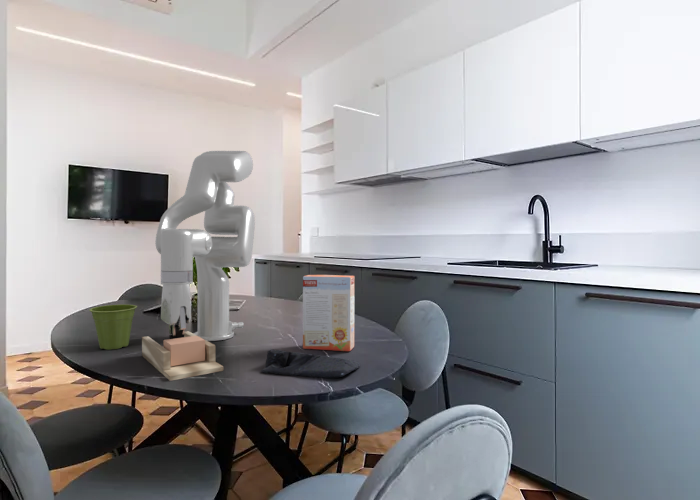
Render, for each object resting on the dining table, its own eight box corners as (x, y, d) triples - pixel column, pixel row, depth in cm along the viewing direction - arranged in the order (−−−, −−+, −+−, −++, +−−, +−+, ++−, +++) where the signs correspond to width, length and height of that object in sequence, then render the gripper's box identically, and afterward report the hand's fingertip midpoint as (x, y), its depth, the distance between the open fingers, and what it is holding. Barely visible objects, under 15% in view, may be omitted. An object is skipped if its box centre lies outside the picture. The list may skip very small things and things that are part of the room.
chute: (188, 348, 119) (188, 331, 119) (223, 370, 100) (223, 349, 100) (142, 355, 112) (142, 337, 112) (170, 380, 92) (170, 358, 92)
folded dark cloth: (343, 386, 91) (343, 364, 91) (254, 374, 99) (254, 354, 99) (365, 366, 105) (365, 347, 105) (286, 357, 113) (286, 339, 113)
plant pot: (83, 346, 120) (83, 307, 120) (128, 339, 129) (128, 303, 129) (97, 354, 112) (97, 312, 112) (143, 346, 121) (143, 307, 121)
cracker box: (354, 347, 123) (355, 275, 122) (350, 352, 117) (350, 276, 116) (308, 344, 126) (309, 273, 125) (301, 349, 120) (302, 275, 119)
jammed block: (196, 355, 108) (196, 335, 108) (205, 360, 103) (205, 340, 103) (163, 360, 103) (163, 340, 103) (170, 366, 98) (170, 344, 98)
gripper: (153, 276, 111) (153, 346, 111) (169, 280, 99) (169, 359, 99) (183, 275, 115) (183, 342, 116) (202, 279, 103) (201, 354, 104)
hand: (176, 350), depth 107 cm, fingers closed
